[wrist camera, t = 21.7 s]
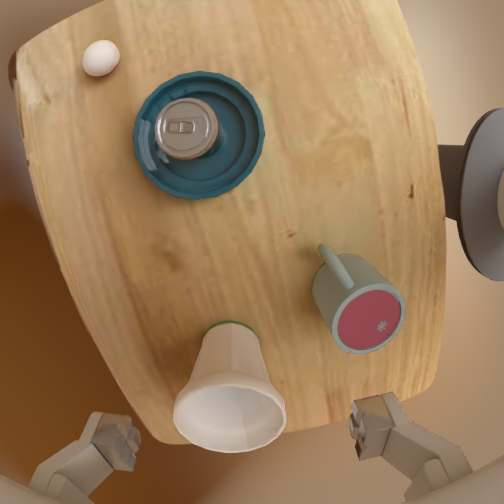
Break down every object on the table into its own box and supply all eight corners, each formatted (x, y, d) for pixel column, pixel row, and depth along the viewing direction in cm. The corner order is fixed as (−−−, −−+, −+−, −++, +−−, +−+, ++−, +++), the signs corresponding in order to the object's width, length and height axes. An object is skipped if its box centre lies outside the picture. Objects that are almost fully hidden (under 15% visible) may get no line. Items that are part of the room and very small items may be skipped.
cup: (257, 296, 41) (267, 369, 27) (283, 363, 45) (299, 439, 30) (174, 323, 42) (150, 397, 27) (208, 384, 46) (202, 459, 31)
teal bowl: (252, 73, 32) (254, 63, 28) (268, 185, 37) (272, 188, 32) (138, 94, 32) (126, 87, 28) (155, 203, 37) (144, 209, 32)
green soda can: (176, 157, 34) (148, 158, 23) (181, 113, 33) (156, 94, 21) (221, 160, 35) (213, 162, 23) (226, 116, 33) (221, 97, 22)
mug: (382, 290, 42) (414, 324, 32) (331, 325, 43) (352, 366, 34) (340, 213, 38) (372, 232, 29) (281, 253, 39) (295, 284, 30)
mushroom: (129, 47, 30) (116, 35, 25) (119, 80, 31) (104, 72, 27) (97, 47, 29) (81, 36, 25) (87, 79, 31) (70, 71, 26)
